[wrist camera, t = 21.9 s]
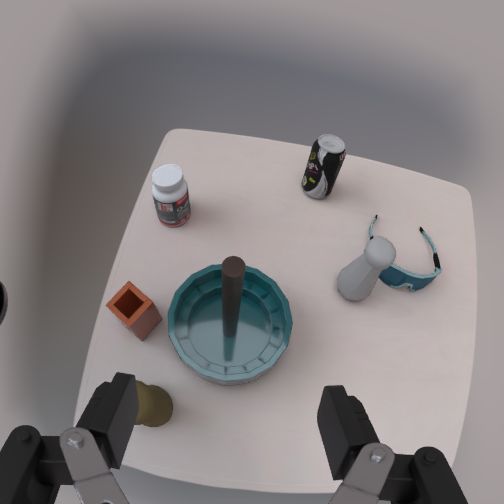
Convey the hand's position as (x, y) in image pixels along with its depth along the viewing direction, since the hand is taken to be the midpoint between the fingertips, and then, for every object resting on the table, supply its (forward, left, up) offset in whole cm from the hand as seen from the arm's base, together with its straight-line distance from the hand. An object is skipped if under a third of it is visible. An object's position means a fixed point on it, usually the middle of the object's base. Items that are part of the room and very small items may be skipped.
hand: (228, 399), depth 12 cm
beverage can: (-11, +41, -31) cm, 52 cm away
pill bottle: (-27, +20, -31) cm, 45 cm away
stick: (-7, +9, -30) cm, 33 cm away
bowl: (-7, +10, -31) cm, 33 cm away
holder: (-18, +2, -31) cm, 36 cm away
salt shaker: (+4, +27, -31) cm, 41 cm away
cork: (-8, -6, -31) cm, 33 cm away
